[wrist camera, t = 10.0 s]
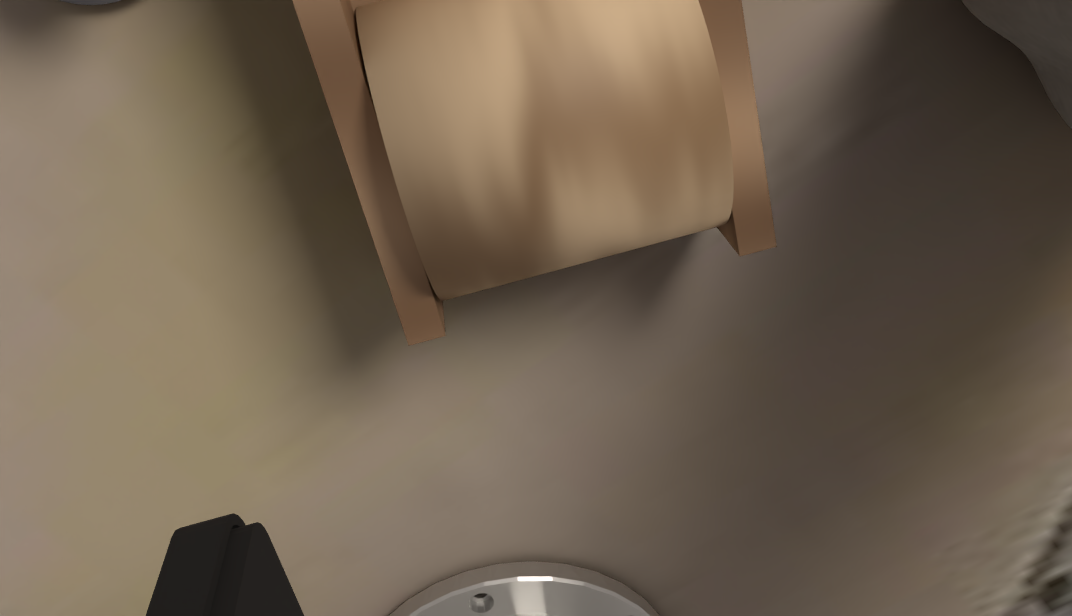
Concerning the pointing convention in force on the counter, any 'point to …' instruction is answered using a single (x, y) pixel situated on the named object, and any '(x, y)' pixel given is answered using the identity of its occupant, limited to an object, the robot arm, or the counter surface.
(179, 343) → the counter surface
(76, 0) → the stand
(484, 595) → the robot arm
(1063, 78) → the vase
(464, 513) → the counter surface
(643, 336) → the counter surface
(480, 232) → the wooden trough
